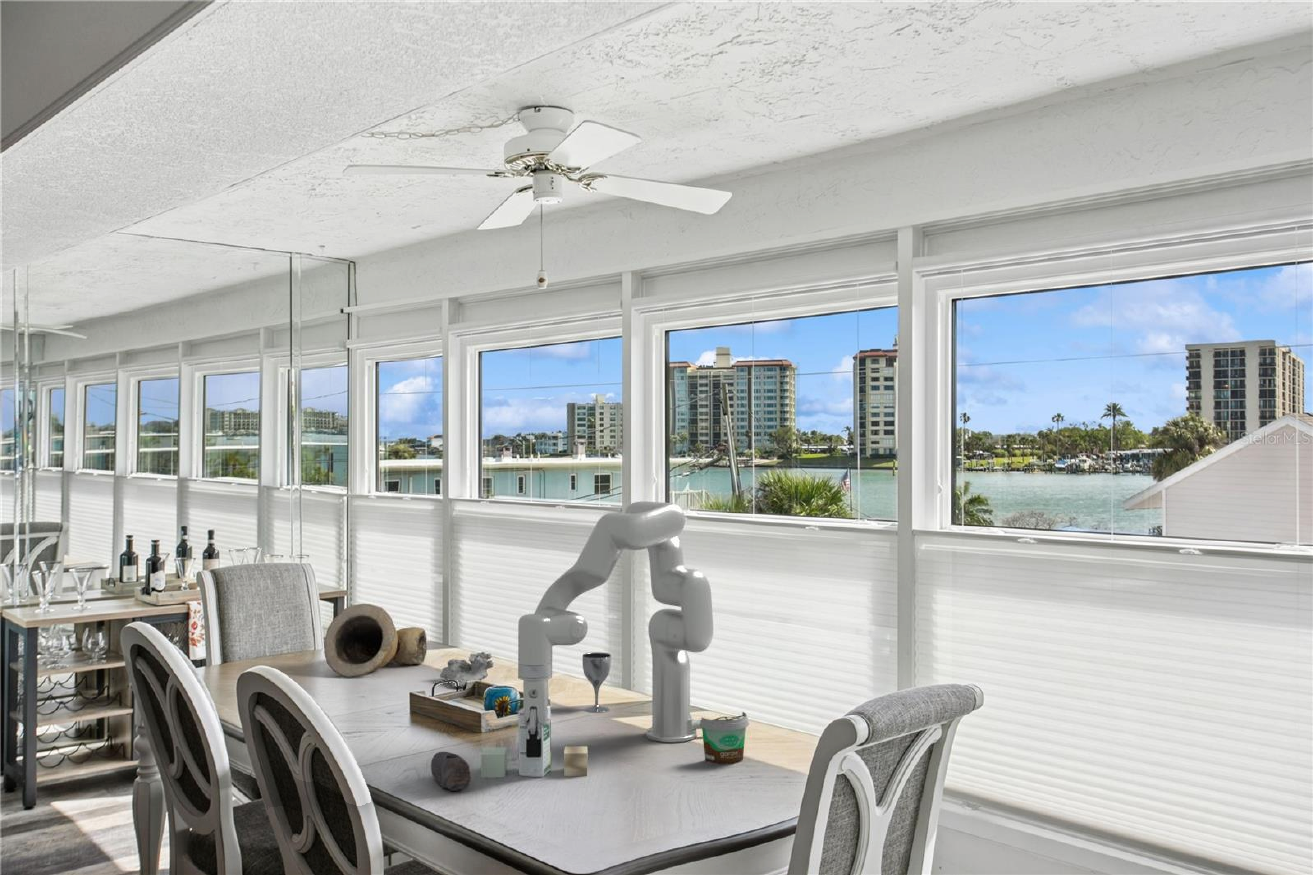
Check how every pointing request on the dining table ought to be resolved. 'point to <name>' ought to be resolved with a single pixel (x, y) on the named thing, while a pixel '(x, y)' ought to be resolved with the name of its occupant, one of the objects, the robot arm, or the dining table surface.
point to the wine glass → (596, 675)
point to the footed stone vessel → (370, 641)
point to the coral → (468, 669)
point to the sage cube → (493, 762)
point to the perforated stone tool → (451, 771)
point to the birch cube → (575, 761)
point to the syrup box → (543, 763)
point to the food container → (724, 739)
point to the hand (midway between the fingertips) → (534, 751)
